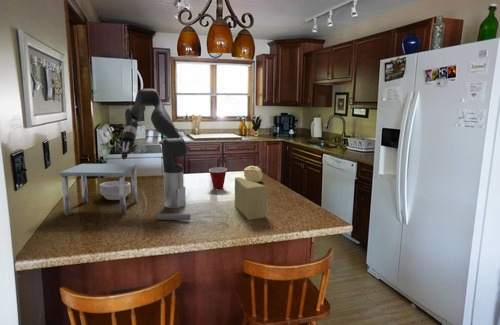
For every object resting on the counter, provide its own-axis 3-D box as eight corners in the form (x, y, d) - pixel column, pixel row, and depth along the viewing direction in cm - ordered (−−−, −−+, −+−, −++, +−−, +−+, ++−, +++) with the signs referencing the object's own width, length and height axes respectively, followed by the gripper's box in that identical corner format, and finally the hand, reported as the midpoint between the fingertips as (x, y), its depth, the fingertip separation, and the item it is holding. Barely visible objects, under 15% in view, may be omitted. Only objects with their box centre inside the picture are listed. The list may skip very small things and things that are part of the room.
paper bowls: (135, 194, 188) (135, 180, 186) (123, 202, 173) (122, 187, 171) (109, 193, 189) (108, 179, 188) (94, 201, 174) (93, 186, 173)
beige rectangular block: (226, 207, 167) (226, 177, 165) (244, 204, 172) (244, 175, 169) (247, 221, 148) (247, 187, 145) (266, 217, 152) (267, 185, 150)
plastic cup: (205, 189, 201) (205, 169, 199) (215, 185, 211) (215, 166, 209) (220, 191, 196) (220, 171, 194) (230, 187, 206) (230, 168, 204)
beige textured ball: (242, 183, 219) (242, 166, 217) (247, 179, 230) (247, 163, 228) (259, 184, 216) (259, 167, 214) (264, 180, 227) (264, 164, 225)
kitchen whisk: (155, 217, 152) (154, 203, 151) (229, 222, 147) (229, 208, 145) (149, 221, 146) (148, 207, 145) (226, 227, 141) (226, 213, 139)
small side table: (84, 201, 173) (81, 163, 170) (138, 201, 175) (136, 163, 172) (63, 215, 152) (59, 172, 148) (124, 215, 153) (122, 172, 150)
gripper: (116, 130, 201) (110, 154, 191) (139, 131, 201) (134, 154, 191) (119, 139, 207) (113, 162, 197) (141, 139, 207) (137, 162, 197)
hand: (123, 158), depth 194 cm, fingers closed
